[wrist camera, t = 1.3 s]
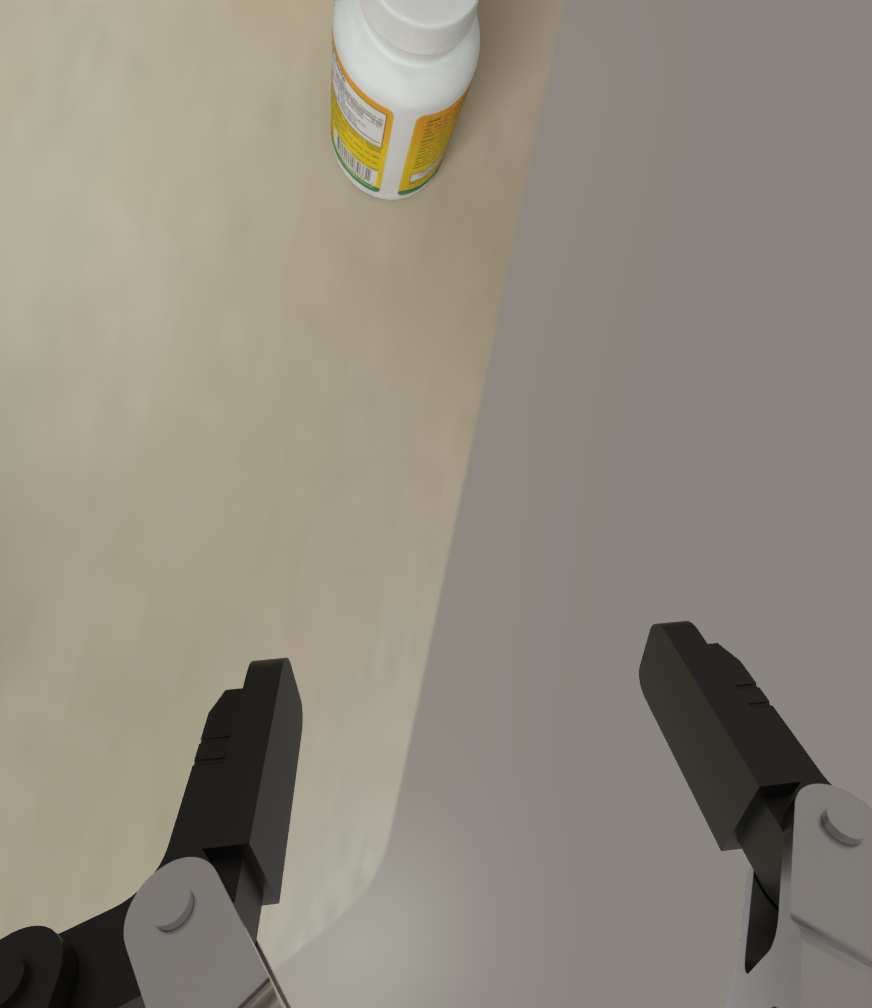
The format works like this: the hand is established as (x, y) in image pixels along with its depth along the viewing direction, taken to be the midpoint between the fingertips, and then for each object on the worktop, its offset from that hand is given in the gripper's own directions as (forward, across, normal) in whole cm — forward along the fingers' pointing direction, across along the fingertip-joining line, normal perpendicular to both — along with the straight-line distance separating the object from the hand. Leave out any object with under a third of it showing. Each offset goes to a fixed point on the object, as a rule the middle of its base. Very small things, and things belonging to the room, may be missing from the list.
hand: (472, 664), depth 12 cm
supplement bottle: (+23, +1, -10) cm, 25 cm away
